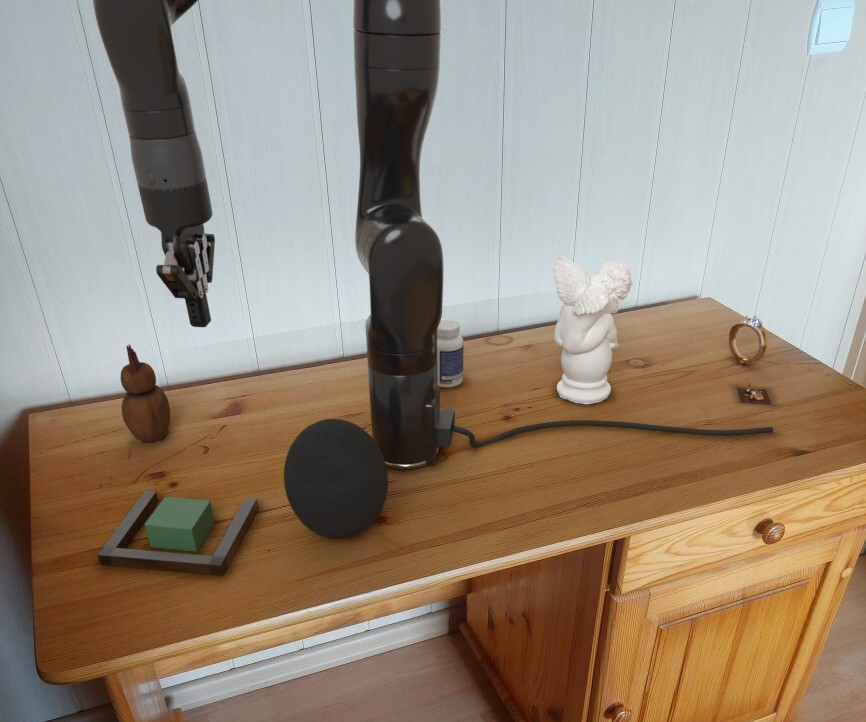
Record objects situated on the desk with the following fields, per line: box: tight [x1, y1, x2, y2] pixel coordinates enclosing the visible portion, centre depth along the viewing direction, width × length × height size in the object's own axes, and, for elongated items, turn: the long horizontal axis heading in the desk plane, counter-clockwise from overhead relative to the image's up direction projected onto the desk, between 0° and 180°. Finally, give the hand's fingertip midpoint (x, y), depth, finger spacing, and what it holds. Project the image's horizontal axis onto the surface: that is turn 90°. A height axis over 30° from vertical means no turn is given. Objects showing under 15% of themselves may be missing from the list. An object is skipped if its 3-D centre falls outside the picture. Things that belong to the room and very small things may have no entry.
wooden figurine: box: [119, 343, 171, 443], centre depth 116 cm, size 7×6×15 cm
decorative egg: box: [283, 418, 389, 540], centre depth 98 cm, size 12×12×15 cm
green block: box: [144, 496, 216, 553], centre depth 101 cm, size 6×6×4 cm
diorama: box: [736, 382, 772, 405], centre depth 129 cm, size 3×4×2 cm
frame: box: [97, 490, 259, 577], centre depth 101 cm, size 15×14×2 cm
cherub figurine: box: [552, 254, 633, 405], centre depth 122 cm, size 12×12×22 cm
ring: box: [728, 315, 769, 365], centre depth 136 cm, size 7×3×8 cm, turn 26°
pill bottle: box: [437, 319, 465, 389], centre depth 131 cm, size 5×5×10 cm
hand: (201, 324), depth 102 cm, fingers closed
